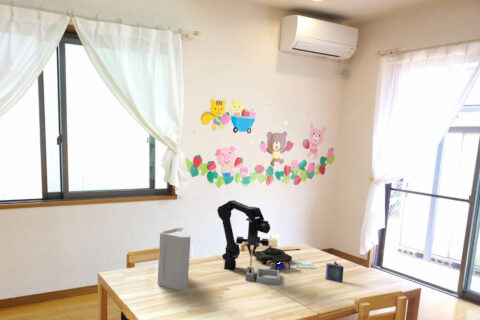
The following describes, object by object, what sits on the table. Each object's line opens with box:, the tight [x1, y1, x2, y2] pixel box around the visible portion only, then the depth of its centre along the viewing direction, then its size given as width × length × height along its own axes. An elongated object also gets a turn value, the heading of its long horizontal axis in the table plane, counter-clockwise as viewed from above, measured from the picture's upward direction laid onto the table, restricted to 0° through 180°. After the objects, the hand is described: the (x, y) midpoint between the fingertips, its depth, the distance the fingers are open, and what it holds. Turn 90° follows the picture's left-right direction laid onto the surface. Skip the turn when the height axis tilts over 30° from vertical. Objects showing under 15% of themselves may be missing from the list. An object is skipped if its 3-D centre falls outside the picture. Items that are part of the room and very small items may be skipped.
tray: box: [256, 268, 281, 285], centre depth 199 cm, size 13×14×3 cm
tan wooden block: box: [249, 248, 253, 267], centre depth 199 cm, size 1×6×8 cm, turn 176°
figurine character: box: [266, 256, 293, 270], centre depth 216 cm, size 7×8×15 cm
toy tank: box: [252, 245, 301, 266], centre depth 232 cm, size 12×34×10 cm, turn 112°
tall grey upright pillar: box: [156, 226, 191, 291], centre depth 185 cm, size 19×15×28 cm
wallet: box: [324, 260, 344, 283], centre depth 204 cm, size 10×3×12 cm, turn 65°
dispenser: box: [244, 266, 255, 282], centre depth 200 cm, size 5×12×5 cm, turn 176°
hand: (251, 255), depth 199 cm, fingers closed on tan wooden block, 1 cm apart
